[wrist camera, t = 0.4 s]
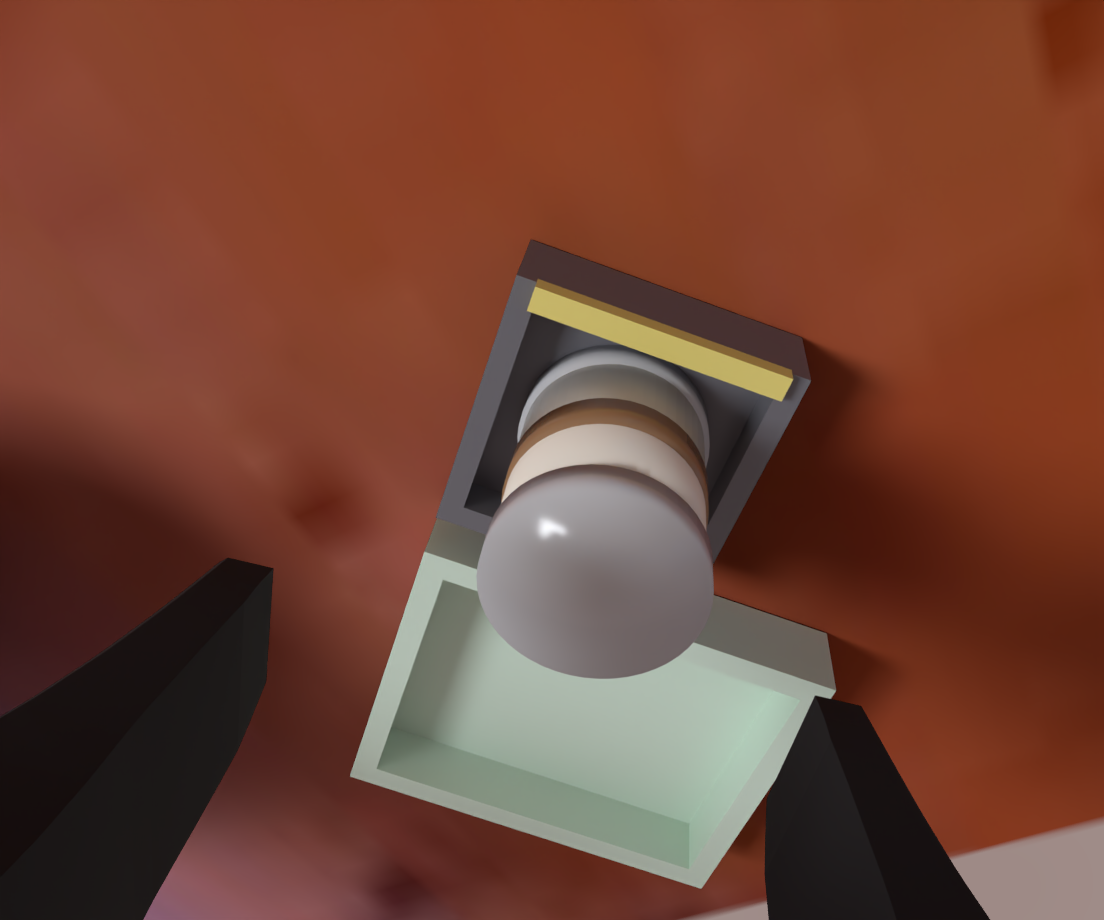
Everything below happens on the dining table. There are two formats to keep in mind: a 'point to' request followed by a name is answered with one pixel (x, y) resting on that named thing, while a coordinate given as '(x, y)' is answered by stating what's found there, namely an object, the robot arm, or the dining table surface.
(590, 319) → the grey square holder
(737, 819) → the parts tray
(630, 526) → the fuse
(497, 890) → the dining table surface
